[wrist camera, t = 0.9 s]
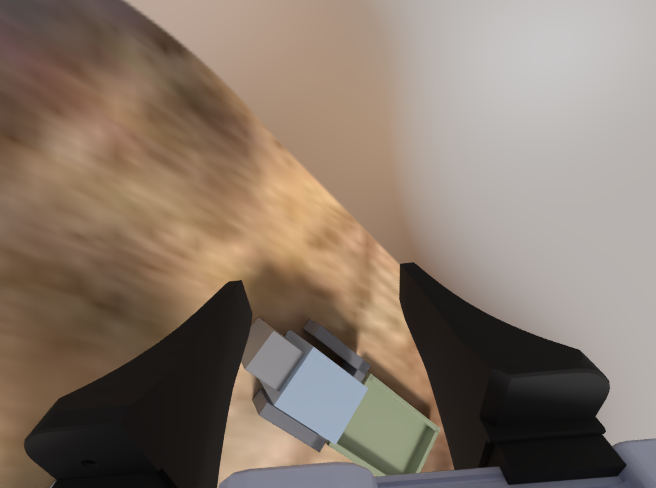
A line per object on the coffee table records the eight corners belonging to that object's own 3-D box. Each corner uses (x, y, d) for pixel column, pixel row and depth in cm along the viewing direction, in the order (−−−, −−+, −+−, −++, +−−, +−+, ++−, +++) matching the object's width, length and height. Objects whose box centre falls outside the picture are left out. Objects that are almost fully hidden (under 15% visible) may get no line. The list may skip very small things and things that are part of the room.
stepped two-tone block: (307, 408, 26) (335, 444, 21) (228, 355, 23) (238, 382, 18) (335, 364, 27) (368, 388, 22) (264, 309, 24) (282, 322, 19)
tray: (398, 485, 30) (408, 496, 28) (321, 436, 26) (328, 445, 25) (429, 421, 32) (440, 428, 30) (362, 368, 28) (370, 373, 27)
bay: (308, 435, 26) (319, 452, 23) (252, 400, 24) (258, 415, 21) (356, 356, 28) (370, 365, 26) (309, 319, 26) (320, 325, 24)
